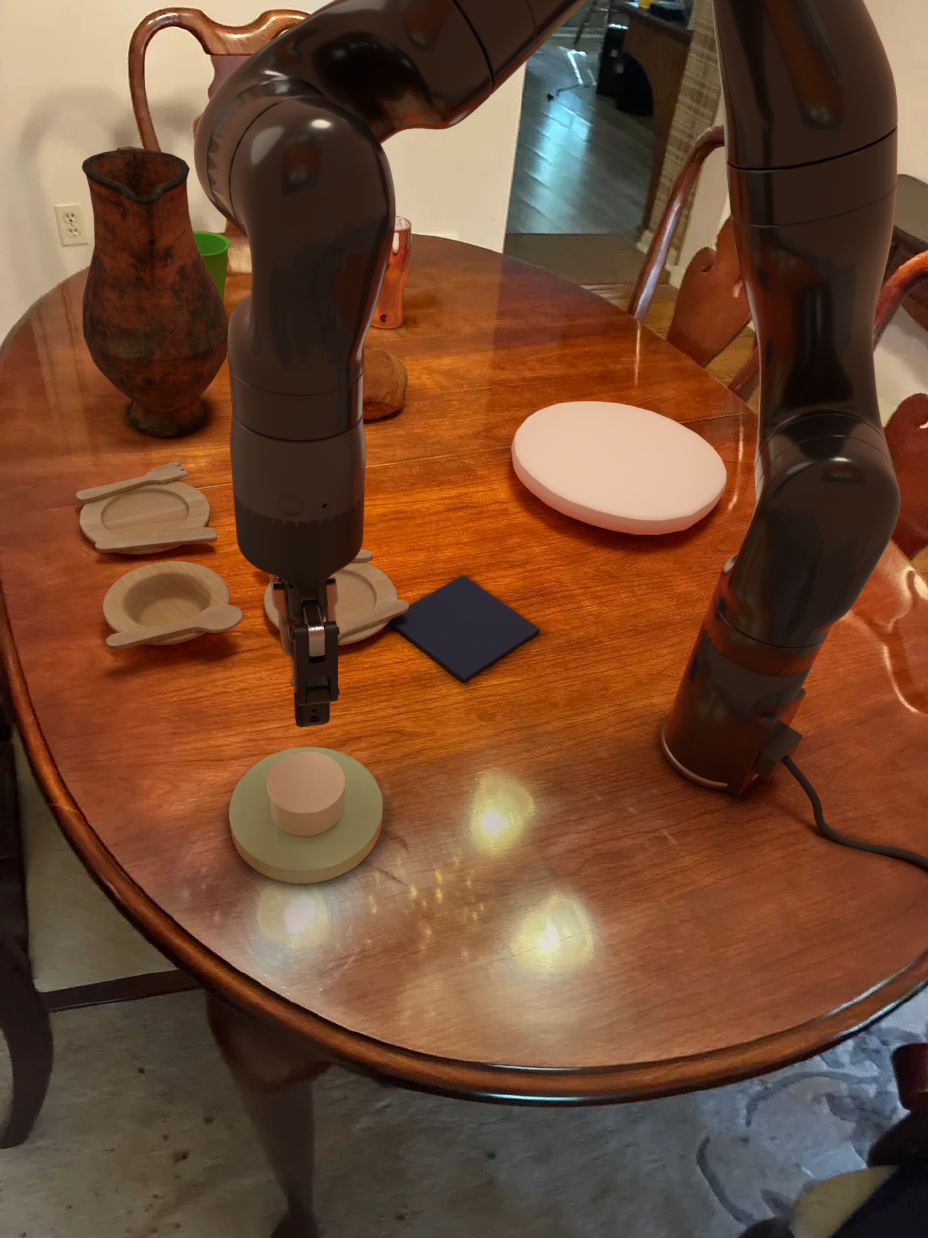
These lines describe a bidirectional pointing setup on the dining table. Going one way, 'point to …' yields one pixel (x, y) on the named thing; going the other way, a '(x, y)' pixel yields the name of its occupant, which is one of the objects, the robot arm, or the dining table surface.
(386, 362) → the croissant
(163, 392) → the pitcher
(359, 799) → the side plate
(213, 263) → the cup
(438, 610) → the felt mat
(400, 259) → the beer glass
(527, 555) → the dining table surface
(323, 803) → the beige short cylinder
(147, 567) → the tableware set
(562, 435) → the white thick round disc
